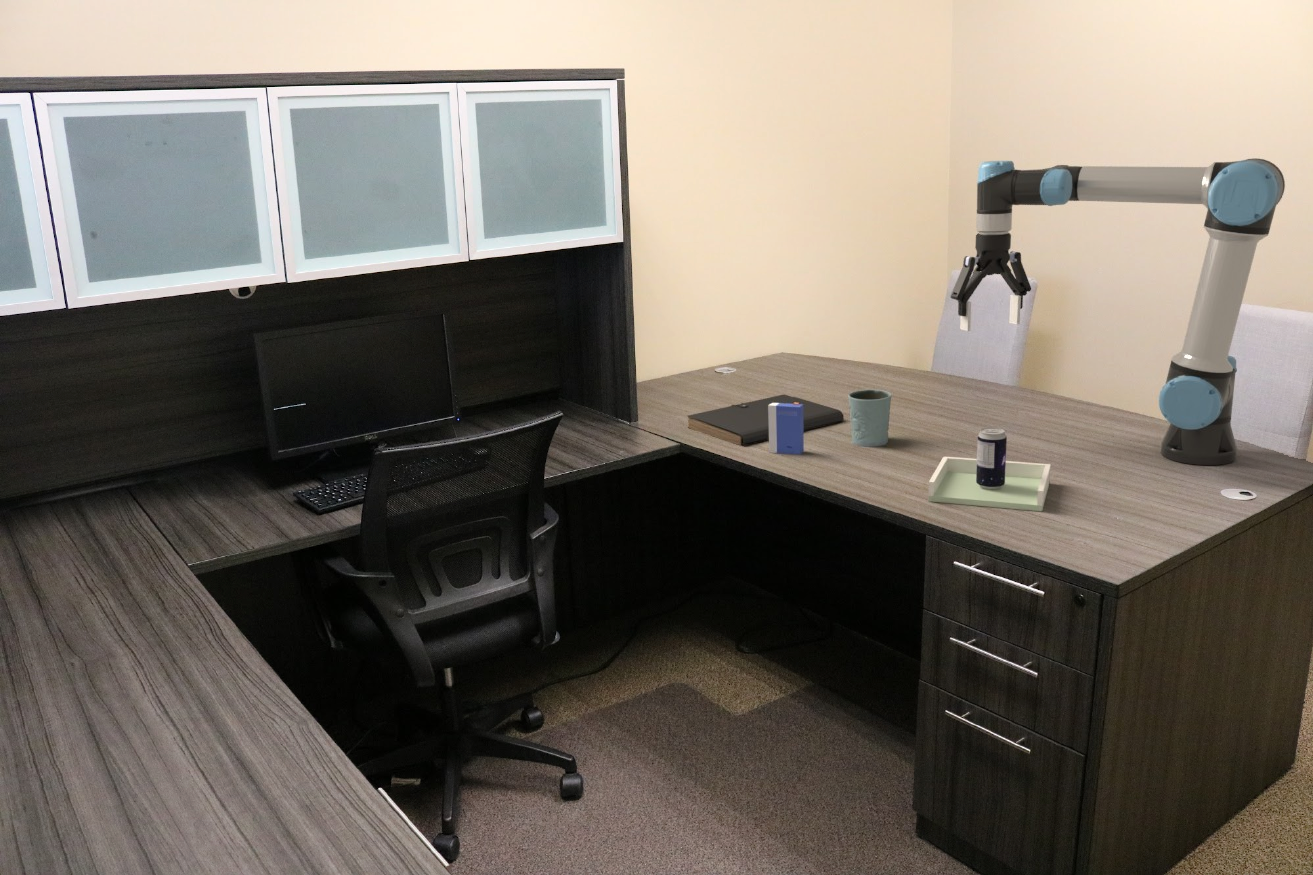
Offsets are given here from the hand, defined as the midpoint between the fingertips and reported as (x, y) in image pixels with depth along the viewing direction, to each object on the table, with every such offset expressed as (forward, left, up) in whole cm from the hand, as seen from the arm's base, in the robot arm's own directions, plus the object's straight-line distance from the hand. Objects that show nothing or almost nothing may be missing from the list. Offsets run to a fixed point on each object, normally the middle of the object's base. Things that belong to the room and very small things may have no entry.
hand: (990, 326), depth 248 cm
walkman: (+44, +15, -29) cm, 55 cm away
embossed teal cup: (+27, +2, -29) cm, 40 cm away
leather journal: (+57, -7, -29) cm, 64 cm away
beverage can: (-5, +32, -28) cm, 43 cm away
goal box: (-5, +32, -29) cm, 43 cm away
